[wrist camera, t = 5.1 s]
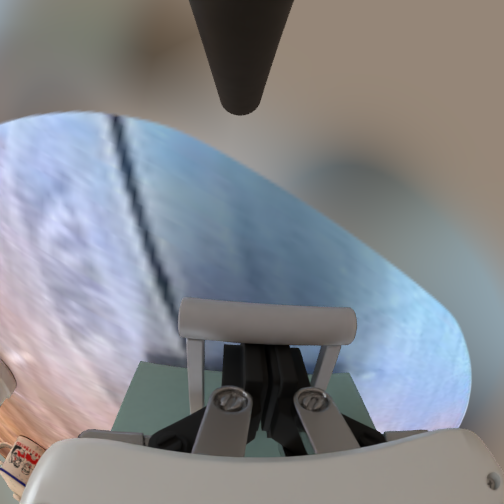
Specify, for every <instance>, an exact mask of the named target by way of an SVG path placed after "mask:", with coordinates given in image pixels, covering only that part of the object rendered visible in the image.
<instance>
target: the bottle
mask: <svg viewBox="0 0 504 504" xmlns="http://www.w3.org/2000/svg"><path fill="white" fill-rule="evenodd" d="M15 388H16V381H15V379H14V377H13V375H12V373H11V372H10V370H9V369H8V367H7V366H6V365H5V364H4V363H3V361H2V360H1V359H0V406H1V405H2V403H3V402H4V400H5V399H6V398H10V396H11V395H12V394H13V392H14V390H15Z"/></svg>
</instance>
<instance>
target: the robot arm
mask: <svg viewBox="0 0 504 504" xmlns="http://www.w3.org/2000/svg"><path fill="white" fill-rule="evenodd" d="M260 420H261V429H262V431H266V433H267V438H272V439H273V440H275V441H276V442H278V450H279V453H280V456H281V457H244V455H245V449H246V445H247V444H248V443H250V442H251V441H252V440H254V439H255V436H256V431H258V429H259V425H260ZM19 504H504V474H503V472H502V470H501V468H500V466H499V465H498V463H497V461H496V460H495V458H494V456H493V455H492V454H491V452H490V450H489V449H488V448H487V446H486V445H485V444H484V442H483V441H482V440H481V439H480V438H479V437H478V436H477V435H476V434H475V433H474V432H472V431H470V430H467V429H461V428H447V429H438V430H433V431H428V430H412V431H387V432H384V434H381V433H380V432H378V431H377V430H375V429H373V428H371V427H369V426H366V425H364V424H362V423H360V422H358V421H356V420H354V419H352V418H350V417H348V416H346V415H344V414H342V413H341V412H340V411H339V409H338V407H337V405H336V404H335V402H334V400H333V399H332V397H331V396H330V394H329V393H327V392H326V391H325V390H323V389H320V388H317V387H311V384H310V381H309V378H308V375H307V371H306V368H305V365H304V362H303V358H302V355H301V352H300V349H299V348H290V346H289V345H271V344H251V343H241V344H240V345H228V344H224V355H223V369H222V383H221V387H219V388H216V389H215V390H214V391H213V392H212V393H211V395H210V397H209V400H208V403H207V406H205V407H203V408H202V409H200V410H198V411H196V412H194V413H192V414H191V415H189V416H187V417H185V418H183V419H181V420H179V421H177V422H175V423H173V424H171V425H169V426H167V427H165V428H163V429H161V430H159V431H157V432H156V433H154V434H153V435H144V434H143V433H139V432H119V431H106V430H96V429H90V430H86V431H83V432H82V433H81V434H80V435H79V436H78V438H72V439H65V440H61V441H58V442H56V443H54V444H53V445H51V446H50V447H49V448H48V449H47V450H46V451H45V452H44V454H43V455H42V456H41V458H40V459H39V461H38V463H37V464H36V466H35V468H34V470H33V472H32V474H31V476H30V478H29V480H28V482H27V484H26V487H25V489H24V491H23V494H22V497H21V500H20V503H19Z"/></svg>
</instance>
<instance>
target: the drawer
mask: <svg viewBox="0 0 504 504" xmlns="http://www.w3.org/2000/svg"><path fill="white" fill-rule="evenodd" d="M356 330H357V319H356V314H355V312H354V310H353V309H352V308H349V307H318V306H296V305H277V304H261V303H247V302H234V301H223V300H211V299H201V298H191V297H183V299H182V301H181V304H180V308H179V316H178V331H179V335H180V337H183V338H187V368H182V367H175V366H168V365H161V364H155V363H149V362H143V361H140V363H139V365H138V368H137V370H136V372H135V374H134V377H133V379H132V381H131V384H130V386H129V388H128V391H127V393H126V395H125V398H124V400H123V402H122V405H121V407H120V410H119V412H118V415H117V417H116V420H115V422H114V425H113V427H112V430H111V431H119V432H139V433H143V434H144V435H153V434H154V433H156V432H157V431H159V430H161V429H163V428H165V427H167V426H169V425H171V424H173V423H175V422H177V421H179V420H181V419H183V418H185V417H187V416H189V415H191V414H192V413H194V412H196V411H198V410H200V409H202V408H203V407H205V406H207V403H208V400H209V397H210V395H211V393H212V392H213V391H214V390H215V389H216V388H219V387H221V383H222V372H220V371H209V370H204V368H205V340H211V341H223V342H235V343H251V344H271V345H322V346H321V349H320V353H319V356H318V359H317V363H316V366H315V369H314V372H313V374H307V375H308V378H309V381H310V384H311V387H317V388H320V389H323V390H325V391H326V392H327V393H329V394H330V396H331V397H332V399H333V400H334V402H335V404H336V405H337V407H338V409H339V411H340V412H341V413H342V414H344V415H346V416H348V417H350V418H352V419H354V420H356V421H358V422H360V423H362V424H364V425H366V426H369V427H371V428H373V429H375V426H374V424H373V422H372V420H371V418H370V416H369V413H368V411H367V409H366V407H365V405H364V403H363V401H362V398H361V396H360V394H359V392H358V390H357V388H356V386H355V384H354V382H353V380H352V377H351V375H350V373H332V372H333V369H334V366H335V363H336V361H337V358H338V355H339V352H340V349H341V345H349V344H351V343H352V342H353V340H354V338H355V335H356ZM375 430H376V429H375ZM244 457H281V456H280V453H279V450H278V442H276V441H275V440H273V439H272V438H267V433H266V431H262V429H261V420H260V425H259V429H258V431H256V436H255V439H254V440H252V441H251V442H250V443H248V444H247V445H246V449H245V455H244Z"/></svg>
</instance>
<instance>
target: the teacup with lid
mask: <svg viewBox="0 0 504 504" xmlns="http://www.w3.org/2000/svg"><path fill="white" fill-rule="evenodd" d="M3 447H8V448H10V449H11V451H10V452H9V454H8V456H7V458H6V460H5V462H4V463H3V462H2V461H1V460H0V464H1V465H2V467H1V468H0V474H1V476H2V477H3V478H4V479H5V481H6V482H7V484H8V486H9V488H10V489H11V490H12V491H13V492H14V494H13V497H14V498H15V499H16V500H18V501H19V502H20V500H21V497H22V494H23V491H24V489H25V487H26V484H27V482H28V480H29V478H30V476H31V474H32V472H33V470H34V468H35V466H36V464H37V463H38V461H39V459H40V458H41V456H42V455H43V454H44V452H45V451H46V450H44V449H43V448H42V447H40V446H39V445H37V444H36V443H34V442H33V441H31V440H29V439H27V438H25V437H22V436H19V437H18V438H17V440H16V442H15V443H14V445H13V446H12V445H11V444H9V443H6V442H0V449H1V448H3Z"/></svg>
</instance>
